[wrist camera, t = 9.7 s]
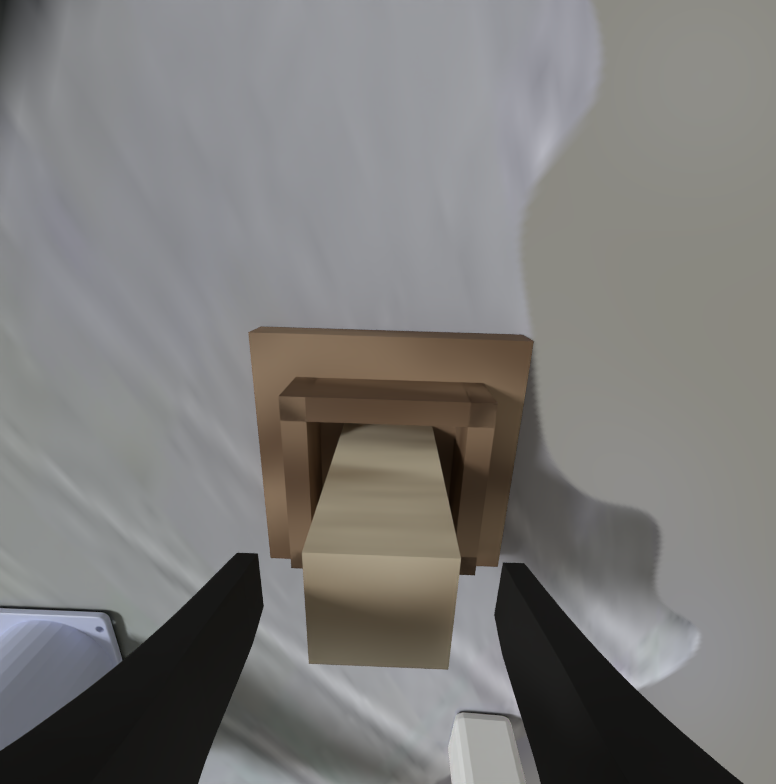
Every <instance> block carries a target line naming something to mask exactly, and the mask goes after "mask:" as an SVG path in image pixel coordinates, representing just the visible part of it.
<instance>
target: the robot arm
mask: <svg viewBox="0 0 776 784" xmlns="http://www.w3.org/2000/svg"><path fill="white" fill-rule="evenodd" d="M263 607H264V605H263V596H262V587H261V578H260V569H259V560H258V554H256V553H237V554H235V555H234V556H233V557H232V558H231V559H230V560H229V561H228V562H227V563H226V564H225V565H224V566H223V567H222V568H221V569H220V570H219V571H218V572H217V573H216V574H215V575H214V576H213V577H212V578H211V579H210V580H209V581H208V582H207V583H206V584H205V585H204V586H203V587H202V588H201V589H200V590H199V591H198V592H197V593H196V594H195V595H194V596H193V597H192V598H191V599H190V600H189V601H188V602H187V603H186V604H185V605H184V606H183V607H182V608H181V609H180V610H179V611H178V612H177V613H176V614H175V615H173V616H172V617H171V618H170V619H169V620H168V621H167V622H166V623H165V624H164V625H163V626H161V627H160V628H159V629H158V630H157V631H156V632H155V633H154V634H153V635H151V636H150V637H149V638H148V639H147V640H146V641H145V642H144V643H143V644H141V645H140V646H139V647H138V648H137V649H136V650H135V651H133V652H132V653H131V654H130V655H129V656H127V657H126V658H125V659H124V660H122V657H121V653H120V650H119V647H118V643H117V640H116V637H115V633H114V630H113V627H112V623H111V620H110V617H109V616H108V615H107V614H105V613H102V612H82V611H58V610H33V609H9V608H0V784H198V782H199V779H200V776H201V773H202V770H203V767H204V764H205V761H206V759H207V756H208V753H209V751H210V748H211V745H212V743H213V740H214V737H215V735H216V733H217V730H218V728H219V725H220V723H221V720H222V718H223V716H224V713H225V711H226V708H227V706H228V703H229V701H230V699H231V696H232V694H233V691H234V689H235V686H236V684H237V682H238V679H239V677H240V674H241V672H242V669H243V667H244V664H245V662H246V659H247V657H248V654H249V652H250V649H251V647H252V644H253V641H254V638H255V634H256V631H257V628H258V624H259V621H260V617H261V614H262V610H263ZM494 616H495V621H496V626H497V631H498V636H499V641H500V646H501V651H502V655H503V659H504V662H505V665H506V669H507V672H508V675H509V678H510V682H511V685H512V688H513V692H514V695H515V698H516V701H517V704H518V708H519V711H520V714H521V717H522V720H523V724H524V727H525V730H526V733H527V737H528V740H529V743H530V746H531V749H532V752H533V756H534V760H535V763H536V767H537V771H538V774H539V778H540V782H541V784H743V783H742V782H741V781H740V780H738V779H737V778H736V777H734V776H733V775H732V774H731V773H730V772H729V771H727V770H726V769H725V768H724V767H722V766H721V765H720V764H719V763H718V762H717V761H715V760H714V759H713V758H712V757H711V756H710V755H708V754H707V753H706V752H705V751H703V749H701V748H700V747H699V746H698V745H697V744H696V743H694V742H693V741H692V740H691V739H690V738H689V737H687V736H686V735H685V734H684V733H683V732H681V731H680V730H679V729H678V728H677V727H676V726H675V725H674V724H673V723H671V722H670V721H669V720H668V719H667V718H666V717H665V716H664V715H662V714H661V713H660V712H659V711H658V710H657V709H656V708H655V707H654V706H653V705H652V704H651V703H650V702H649V701H648V700H647V699H646V698H645V697H644V696H642V695H641V694H640V693H639V692H638V691H637V690H636V689H635V688H634V687H633V686H632V685H631V684H630V683H629V682H628V681H627V680H626V679H625V678H624V677H623V676H622V675H621V674H620V673H619V672H618V671H617V670H616V669H615V668H614V667H613V666H612V665H611V664H610V663H609V661H608V660H607V659H606V658H605V657H604V656H603V655H602V654H601V653H600V652H599V651H598V650H597V649H596V648H595V646H594V645H593V644H592V643H591V642H590V641H589V640H588V639H587V638H586V637H585V635H584V634H583V633H582V632H581V631H580V630H579V629H578V627H577V626H576V625H575V624H574V623H573V622H572V621H571V619H570V618H569V617H568V616H567V615H566V614H565V612H564V611H563V610H562V609H561V608H560V607H559V605H558V604H557V603H556V602H555V600H554V599H553V598H552V597H551V596H550V594H549V593H548V592H547V591H546V590H545V588H544V587H543V586H542V585H541V583H540V582H539V581H538V580H537V578H536V577H535V576H534V575H533V573H532V572H531V571H530V570H529V569H528V567H527V566H526V565H525V564H524V563H503V566H502V572H501V578H500V584H499V590H498V596H497V602H496V608H495V614H494Z"/></svg>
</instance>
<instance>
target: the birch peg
mask: <svg viewBox="0 0 776 784" xmlns="http://www.w3.org/2000/svg"><path fill="white" fill-rule="evenodd" d="M302 563H303V578H304V594H305V610H306V625H307V641H308V656H309V664H328V665H352V666H376V667H400V668H424V669H448V667H449V658H450V649H451V641H452V632H453V623H454V615H455V606H456V597H457V589H458V580H459V572H460V563H461V556H460V552H459V547H458V543H457V538H456V533H455V529H454V524H453V520H452V515H451V510H450V506H449V501H448V497H447V492H446V487H445V483H444V478H443V474H442V469H441V464H440V460H439V455H438V451H437V446H436V441H435V437H434V432H433V428H432V426H419V425H390V424H361V423H344V426H343V429H342V432H341V435H340V438H339V441H338V444H337V447H336V450H335V453H334V456H333V459H332V462H331V465H330V468H329V471H328V475H327V478H326V481H325V484H324V487H323V490H322V493H321V496H320V499H319V502H318V505H317V508H316V511H315V514H314V517H313V520H312V523H311V526H310V529H309V532H308V535H307V538H306V541H305V545H304V548H303V551H302Z"/></svg>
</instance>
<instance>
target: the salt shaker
mask: <svg viewBox="0 0 776 784" xmlns="http://www.w3.org/2000/svg"><path fill="white" fill-rule="evenodd" d="M448 752H449V762H450V771H451V780H452V784H526V781H525V777H524V773H523V769H522V765H521V761H520V757H519V753H518V749H517V745H516V741H515V737H514V733H513V729H512V725H511V723H510V721H509V719H508V718H507V717H504V716H499V715H488V714H476V713H464V712H462V713H459V714H457V715H456V716H455V721H454V725H453V729H452V734H451V738H450V742H449V747H448Z"/></svg>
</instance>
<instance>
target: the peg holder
mask: <svg viewBox="0 0 776 784" xmlns="http://www.w3.org/2000/svg"><path fill="white" fill-rule="evenodd" d="M248 333H249V343H250V353H251V363H252V373H253V383H254V394H255V404H256V414H257V424H258V434H259V444H260V454H261V465H262V475H263V485H264V495H265V505H266V515H267V525H268V536H269V546H270V556H271V558H285V559H291V568H302V569H303V563H302V551H303V548H304V545H305V541H306V538H307V535H308V532H309V529H310V526H311V523H312V520H313V517H314V514H315V511H316V508H317V505H318V502H319V499H320V496H321V493H322V490H323V487H324V484H325V481H326V478H327V475H328V471H329V468H330V465H331V462H332V459H333V456H334V453H335V450H336V447H337V444H338V441H339V438H340V435H341V432H342V429H343V426H344V423H361V424H390V425H419V426H432V428H433V432H434V437H435V441H436V446H437V451H438V455H439V460H440V464H441V469H442V474H443V478H444V483H445V487H446V492H447V497H448V501H449V506H450V510H451V515H452V520H453V524H454V529H455V533H456V538H457V543H458V547H459V552H460V556H461V563H460V572H459V575H475V570H476V566H491V567H498V561H499V555H500V549H501V543H502V536H503V530H504V524H505V518H506V511H507V505H508V499H509V493H510V486H511V480H512V474H513V468H514V461H515V455H516V449H517V443H518V436H519V430H520V424H521V418H522V411H523V405H524V399H525V393H526V386H527V380H528V374H529V368H530V361H531V355H532V349H533V343H534V341H532V340H531V339H529V338H527V337H525V336H524V335H515V334H483V333H450V332H418V331H386V330H354V329H322V328H289V327H259V328H257V329H255V330H252V331H250V332H248Z"/></svg>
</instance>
